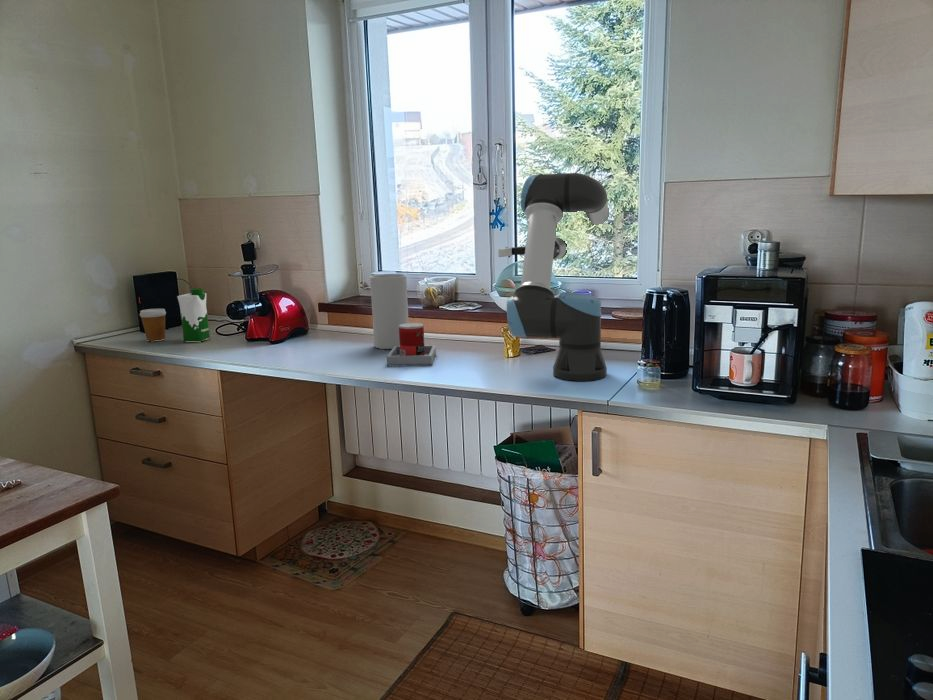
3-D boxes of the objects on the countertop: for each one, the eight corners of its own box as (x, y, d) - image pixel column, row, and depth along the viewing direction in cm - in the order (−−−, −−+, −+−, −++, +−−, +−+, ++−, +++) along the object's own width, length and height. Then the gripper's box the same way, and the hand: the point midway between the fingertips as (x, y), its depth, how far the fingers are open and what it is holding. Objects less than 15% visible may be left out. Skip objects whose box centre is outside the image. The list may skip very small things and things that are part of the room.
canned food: (421, 361, 219) (420, 327, 216) (397, 360, 220) (395, 326, 218) (427, 355, 226) (426, 322, 224) (404, 355, 227) (402, 322, 225)
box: (431, 365, 215) (431, 355, 214) (387, 366, 216) (386, 356, 215) (436, 354, 231) (435, 345, 230) (394, 354, 231) (394, 346, 231)
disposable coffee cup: (163, 342, 264) (159, 311, 261) (138, 343, 264) (134, 312, 261) (173, 338, 273) (170, 308, 270) (149, 338, 273) (146, 308, 271)
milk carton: (202, 343, 261) (196, 290, 256) (179, 343, 262) (173, 290, 258) (213, 338, 269) (208, 287, 265) (191, 338, 270) (186, 287, 266)
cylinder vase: (404, 350, 238) (401, 277, 233) (369, 350, 240) (365, 278, 235) (413, 342, 250) (410, 273, 245) (380, 342, 252) (376, 274, 247)
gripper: (581, 260, 239) (546, 266, 224) (522, 258, 255) (486, 263, 240) (581, 239, 238) (546, 242, 222) (522, 238, 254) (486, 241, 238)
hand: (515, 253), depth 231 cm, fingers open, 13 cm apart
